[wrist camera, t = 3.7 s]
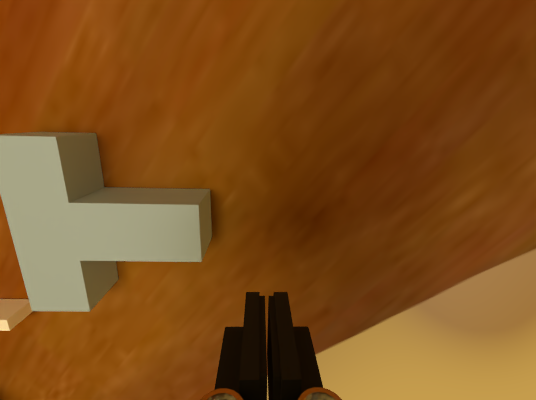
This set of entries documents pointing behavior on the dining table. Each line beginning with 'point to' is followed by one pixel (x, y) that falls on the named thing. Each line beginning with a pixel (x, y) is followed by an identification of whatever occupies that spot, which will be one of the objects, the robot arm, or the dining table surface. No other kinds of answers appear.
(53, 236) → the t block
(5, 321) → the dock
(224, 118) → the dining table surface
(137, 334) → the dining table surface
